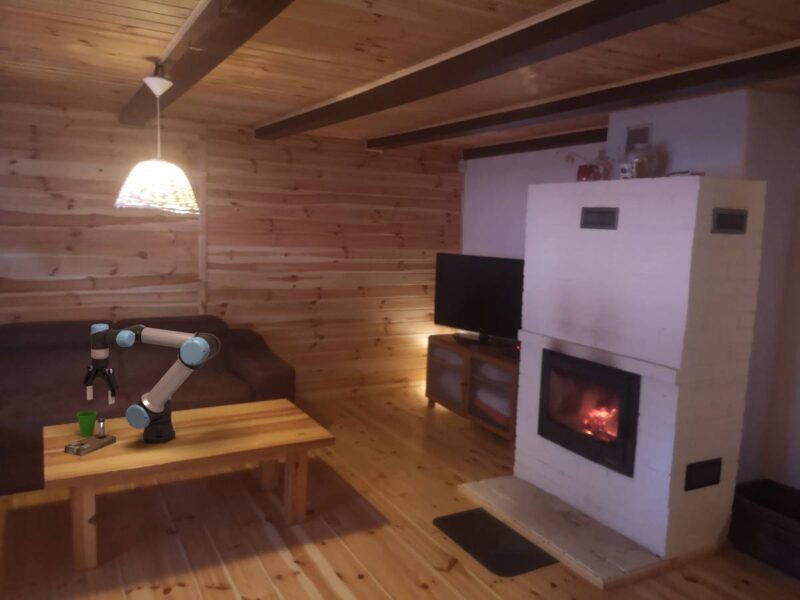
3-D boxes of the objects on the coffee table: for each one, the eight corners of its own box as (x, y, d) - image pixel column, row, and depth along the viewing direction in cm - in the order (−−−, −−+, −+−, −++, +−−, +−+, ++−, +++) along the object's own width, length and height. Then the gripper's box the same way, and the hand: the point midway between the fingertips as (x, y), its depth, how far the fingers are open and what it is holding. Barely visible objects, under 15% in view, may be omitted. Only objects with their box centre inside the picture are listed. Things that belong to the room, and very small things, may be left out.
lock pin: (106, 442, 300) (106, 418, 298) (101, 444, 297) (100, 420, 295) (101, 441, 301) (101, 417, 299) (96, 443, 298) (96, 419, 296)
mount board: (116, 442, 301) (116, 436, 300) (80, 456, 282) (80, 449, 282) (100, 439, 304) (100, 432, 304) (64, 452, 286) (64, 445, 285)
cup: (89, 439, 303) (88, 417, 302) (72, 437, 305) (72, 415, 303) (101, 433, 312) (101, 412, 310) (85, 431, 314) (85, 410, 312)
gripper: (126, 358, 293) (127, 403, 295) (86, 352, 302) (87, 395, 304) (114, 361, 286) (114, 407, 288) (73, 355, 295) (74, 399, 297)
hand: (100, 401), depth 296 cm, fingers open, 13 cm apart
